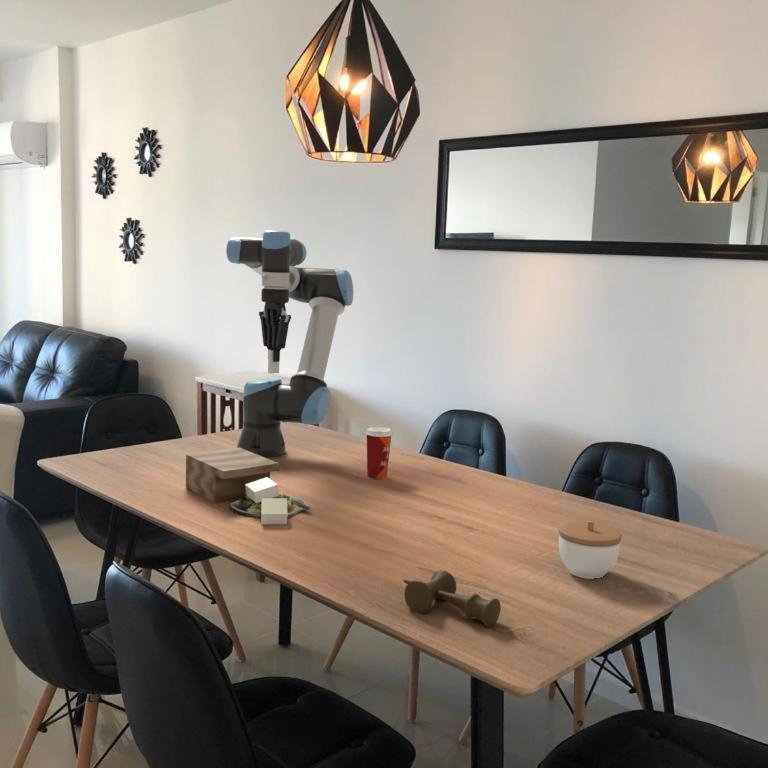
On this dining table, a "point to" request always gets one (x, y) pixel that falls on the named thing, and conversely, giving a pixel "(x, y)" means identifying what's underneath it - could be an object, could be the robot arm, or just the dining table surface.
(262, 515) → the tile
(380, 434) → the paper cup
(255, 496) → the tile
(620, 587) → the dining table surface
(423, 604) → the kendama
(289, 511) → the salad plate
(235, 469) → the block
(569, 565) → the lidded bowl
